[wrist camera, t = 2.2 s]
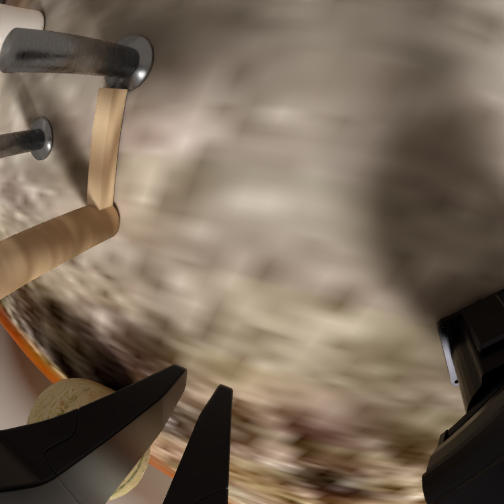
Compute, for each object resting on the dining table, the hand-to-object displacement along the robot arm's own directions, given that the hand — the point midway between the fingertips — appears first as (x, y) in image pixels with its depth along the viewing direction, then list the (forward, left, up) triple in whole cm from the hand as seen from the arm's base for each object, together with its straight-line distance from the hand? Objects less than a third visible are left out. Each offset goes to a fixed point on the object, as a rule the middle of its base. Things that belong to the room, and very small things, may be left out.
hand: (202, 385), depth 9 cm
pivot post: (+17, +3, -12) cm, 21 cm away
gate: (+11, +9, -12) cm, 18 cm away
